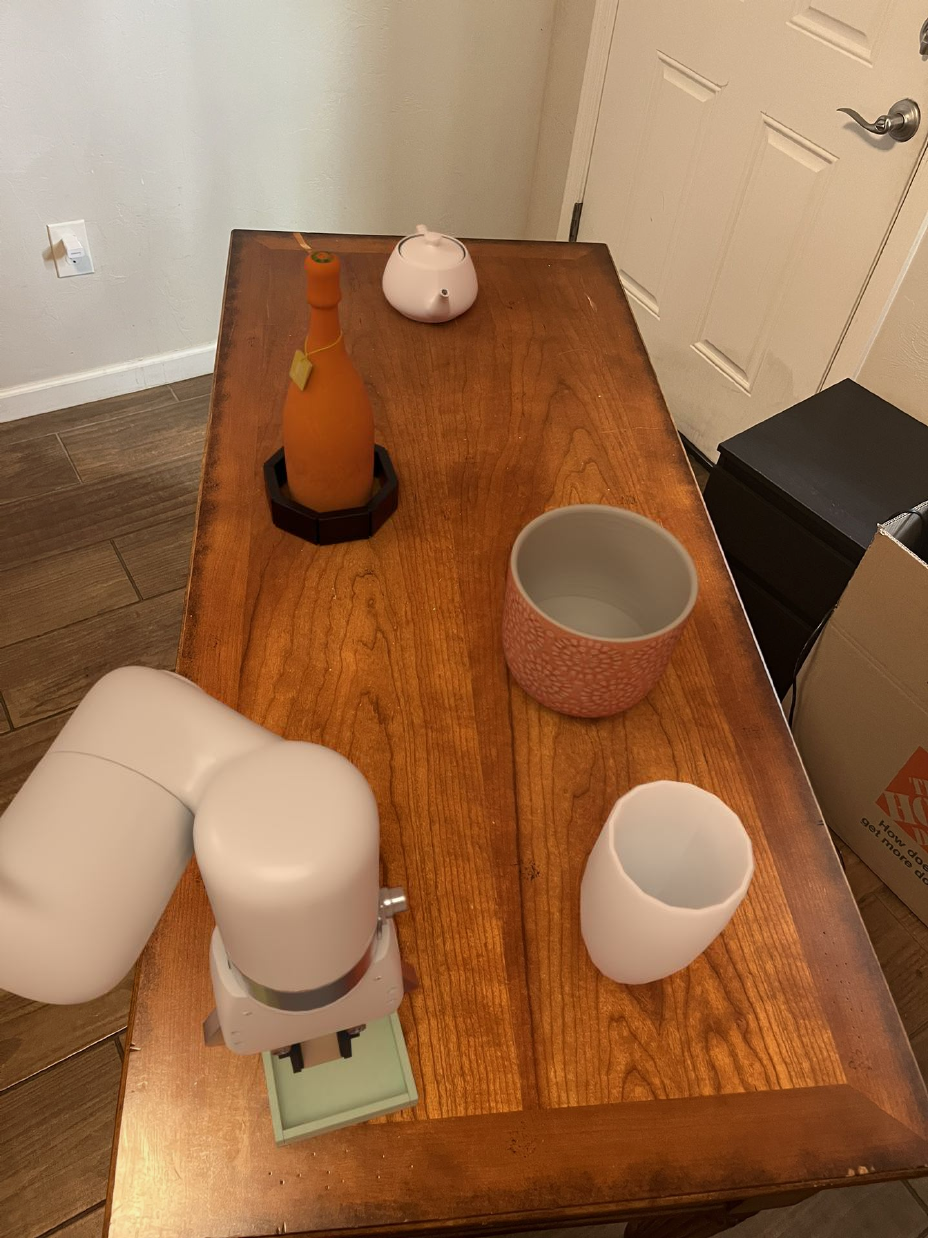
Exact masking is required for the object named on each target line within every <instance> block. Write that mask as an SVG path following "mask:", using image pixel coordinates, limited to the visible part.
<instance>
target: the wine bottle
mask: <svg viewBox="0 0 928 1238" xmlns="http://www.w3.org/2000/svg"><path fill="white" fill-rule="evenodd" d="M303 264H304V271H305V274H306V275H305V276H306V284H307V286H306V291H305V296H306V297H305V298H306V301H307V304H308V305H310V309H309V310H310V311H309V319H310V320H309V331H308V334H307V335H306V338H305V342H304V352H302V351H301V349H298V348H297V349H295V353H294V356H293V360H292V363H291V368H290V370H289V374H288V376H289V377H290V378H291V381H290V384H289V386H288V390H287V393H286V396H285V400H284V404H283V410H282V421H281V423H282V438H283V445H284V452H285V461H286V470H287V478H288V481H287V485H288V492H289V494H290V500H293V501H295V502H297V503H299V504H302V505H304V506H306V507H308V508H310V509H313V510H315V511H317V512H319V513H320V512H327V511H334V510H341V509H348V508H355V507H362V506H365V505H366V504H367V503H368V502H369V501H370V500H371V498H372V494H373V488H374V487H373V485H374V476H373V470H374V443H375V418H374V412H373V407H372V402H371V400H370V396H369V394H368V391H367V389H366V387H365V384H364V382H363V380H362V378H361V376H360V374H359V372H358V370H357V369H356V367H355V366H354V363H353V362H352V360H351V358H350V356H349V354H348V351H347V349H346V343H345V337H344V333H343V331H342V329H341V326H340V325H341V324H340V317H339V316H340V315H339V304H340V302H341V300H342V297H343V296H342V295H343V294H342V290H341V286H340V275H341V268H342V267H341V265H342V264H341V262H340V260H339V258H338V256H337V255H336V254H335V253H333V252H332V251H328V250H317V251H313V252H311V253H309V254H308V255H306V257H305V260H304V263H303Z"/></svg>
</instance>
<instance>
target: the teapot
mask: <svg viewBox="0 0 928 1238" xmlns="http://www.w3.org/2000/svg"><path fill="white" fill-rule="evenodd" d="M383 271H384V272H383V275H382V291H383V294H384V296H385V298H386V300H387V301H388V302H389V304H390V305H391V306H392V307H393V308H394V309H395V310H397V311H398V312H399V313H400V314H402V315H403V316H404V317H406V318H409V319H410V320H413V321H416V322H421V323H431V324H432V323H435V324H436V323H443V322H448V321H450V320H453V319H455V318H457V317H458V316H460V315H462V314H463V313H465V312H466V311H468V309H470V308H471V307H472V306H473V304H474V303H475V301H476V299H477V296H478V291H479V284H478V277H477V273H476V269H475V265H474V263H473V261H472V258H471V255H470V253H469V251H468V249H467V247H466V245H465V244H464V243H463V242H462V241H460V240H458V239H457V238H455V237H453V236H450V235H447V234H443V233H439V232H437V231H430V230H429V229H428V227H427V225H425V224H421V223H420V224H418V225H416V226H415V233H412V234H409V235H407V236H405V237H403V238H402V239H400V240H399V241H398V243H397V244H396V246H395V247H394V249H393V251H392V253H391V254H390V256H389V259H388V260H387V263H386V266H385V267H384V270H383Z"/></svg>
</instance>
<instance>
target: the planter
mask: <svg viewBox="0 0 928 1238" xmlns="http://www.w3.org/2000/svg"><path fill="white" fill-rule="evenodd" d="M696 567H697V566H696V565H695V562H694V560H693V558H692V556H691V555H690V553H689V552H688V550H687V549H686V547H685V546H684V544H682V542H681V541H680V540H679V538H677V537H676V536H675V535H674V534H673V533H672V532H671V531H669V530H668V529H666V528H665V526H664V527H663V526H662V525H661V524H659V523H658V522H656V521H654V520H652V519H651V518H649V517H647V516H644V515H643V514H639V513H637V512H635V511H632V510H629V509H626V508H622V507H619V506H614V505H607V504H599V503H579V504H571V505H565V506H561V507H557V508H554V509H551V510H548V511H547V512H544V513H542V514H540V515H539V516H537V517H535V518H534V519H532V520H531V521H530V522H529V523H528V524H527V525H525V527H523V529H522V530H521V531H520V532H519V534H517V537H516V539H515V540H514V542H513V545H512V548H511V552H510V557H509V562H508V569H507V577H506V584H505V593H504V599H503V600H504V601H503V611H502V623H501V624H502V625H501V634H502V635H501V638H502V648H503V655H504V658H505V661H506V664H507V666H508V669H509V671H510V673H511V675H512V677H513V678H514V679H515V681H516V683H517V684H518V685H519V686H520V687H521V689H522V690H523V691H524V692H525V693H526V694H527V695H529V697H531V698H532V699H533V700H535V701H536V702H537V703H539V704H540V705H542V706H544V707H545V708H548V709H549V710H552V711H555V712H557V713H560V714H563V715H567V716H571V717H576V718H587V719H588V718H589V719H590V718H591V719H592V718H593V719H594V718H603V717H608V716H612V715H616V714H619V713H621V712H624V711H626V710H629V709H630V708H632V707H633V706H636V705H637V704H639V702H641V701H642V700H643V699H644V698H645V697H647V695H648V694H649V693H650V692H651V691H652V690H653V689H654V687H655V686H656V685H657V683H658V682H659V681H660V679H661V678H662V676H663V675H664V673H665V671H666V669H667V667H668V665H669V663H670V662H671V659H672V657H673V655H674V653H675V651H676V649H677V647H678V644H679V642H680V640H681V638H682V636H683V634H684V631H685V629H686V627H687V625H688V622H689V620H690V618H691V616H692V613H693V611H694V608H695V605H696V603H697V599H698V595H699V589H700V588H699V587H700V581H699V575H698V571H697V568H696Z"/></svg>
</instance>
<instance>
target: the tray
mask: <svg viewBox="0 0 928 1238" xmlns="http://www.w3.org/2000/svg"><path fill="white" fill-rule="evenodd" d="M351 1047H352V1057H350V1058H347V1059H344V1057H342V1058H340V1059H337V1060H333V1061H330V1062H326V1063H323V1064H320V1065H316V1066H313V1067H309V1068H306V1069H301V1070H302V1072H299V1073H295V1074H294V1073H293V1068H292V1064H291V1060H290V1057H286V1058H283V1059H279V1057H278V1055H277V1056H274V1055H272V1054H271V1050H270V1051H266V1052H262V1053H261V1059H262V1064H263V1069H264V1076H265V1082H266V1083H265V1084H266V1091H267V1096H268V1102H269V1110H270V1116H271V1122H272V1128H273V1135H274V1143H275V1145H276V1148H277V1149H279V1148H282V1147H285V1146H288V1145H293V1144H295V1143H299V1142H301V1141H305V1140H309V1139H312V1138H315V1137H318V1136H321V1135H324V1134H328V1133H332V1132H334V1131H337V1130H341V1129H344V1128H347V1127H350V1126H354V1125H357V1124H360V1123H364V1122H367V1121H370V1120H373V1119H377V1118H379V1117H384V1116H386V1115H390V1114H393V1113H396V1112H400V1111H403V1110H406V1109H409V1108H413V1107H416V1106H418V1103H419V1094H418V1091H417V1086H416V1082H415V1077H414V1073H413V1069H412V1066H411V1061H410V1058H409V1053H408V1050H407V1045H406V1041H405V1036H404V1032H403V1029H402V1025H401V1020H400V1016H399V1013H398V1009H397V1010H396V1011H395V1012H394V1013H392V1014H390V1015H388V1016H386V1017H384V1018H381V1019H378V1020H375V1021H372V1022H369V1023H366V1029H365V1030H363V1031H361V1032H360V1037H356V1038H353V1039H351Z"/></svg>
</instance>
